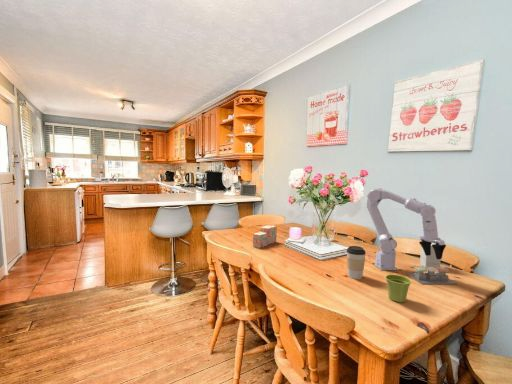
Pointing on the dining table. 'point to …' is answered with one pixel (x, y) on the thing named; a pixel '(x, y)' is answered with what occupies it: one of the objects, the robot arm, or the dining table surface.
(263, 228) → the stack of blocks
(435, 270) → the key cream
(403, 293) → the plant pot
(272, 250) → the dining table surface
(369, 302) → the dining table surface
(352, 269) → the coffee cup
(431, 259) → the supplement box
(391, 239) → the robot arm
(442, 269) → the key terracotta
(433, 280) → the keypad base
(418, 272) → the key sage
